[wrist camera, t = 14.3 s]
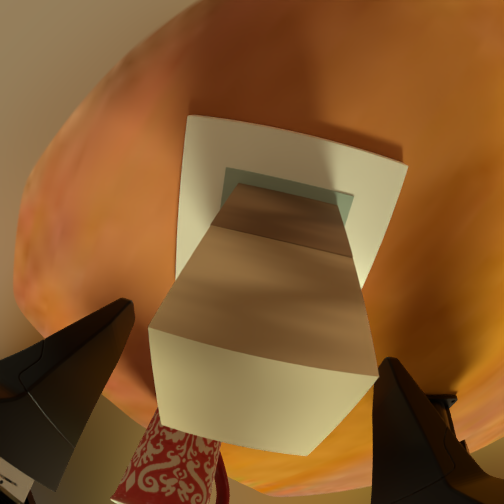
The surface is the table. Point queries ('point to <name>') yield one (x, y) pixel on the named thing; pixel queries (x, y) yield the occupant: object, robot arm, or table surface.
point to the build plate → (284, 180)
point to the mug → (173, 469)
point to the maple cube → (261, 343)
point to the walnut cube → (285, 219)
